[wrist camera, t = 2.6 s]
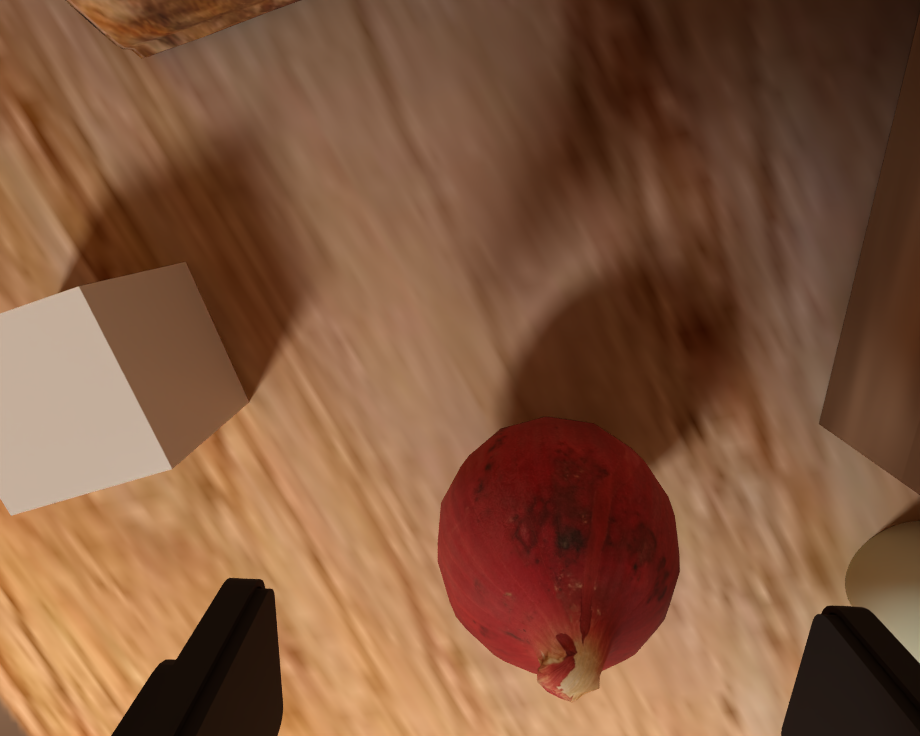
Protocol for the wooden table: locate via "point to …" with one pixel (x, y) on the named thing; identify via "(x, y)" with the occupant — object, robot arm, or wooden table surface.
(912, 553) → the sage painted capsule
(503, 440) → the red fruit
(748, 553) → the wooden table surface
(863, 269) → the shallow wooden tray
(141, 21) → the cured meat
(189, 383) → the grey ceramic cube
